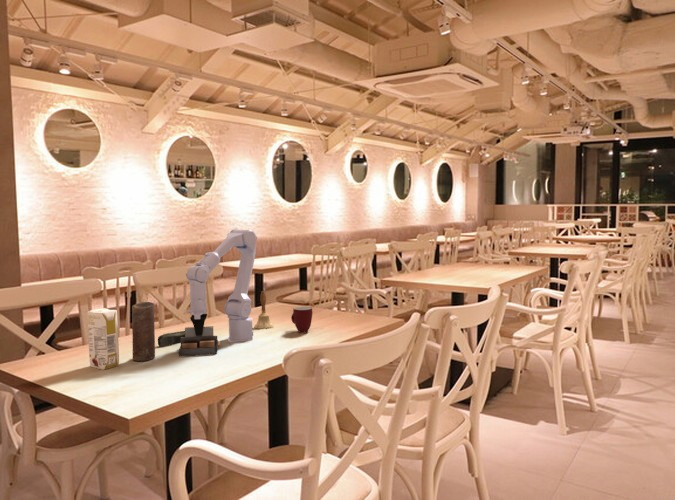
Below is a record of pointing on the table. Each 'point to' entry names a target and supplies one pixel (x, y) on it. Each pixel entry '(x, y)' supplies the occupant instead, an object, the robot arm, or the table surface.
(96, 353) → the juice carton
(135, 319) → the candle
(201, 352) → the rack
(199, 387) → the table surface
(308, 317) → the mug
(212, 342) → the offcut
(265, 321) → the hand bell
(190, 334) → the grey flat block
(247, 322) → the robot arm
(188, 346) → the offcut
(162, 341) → the mobile phone
